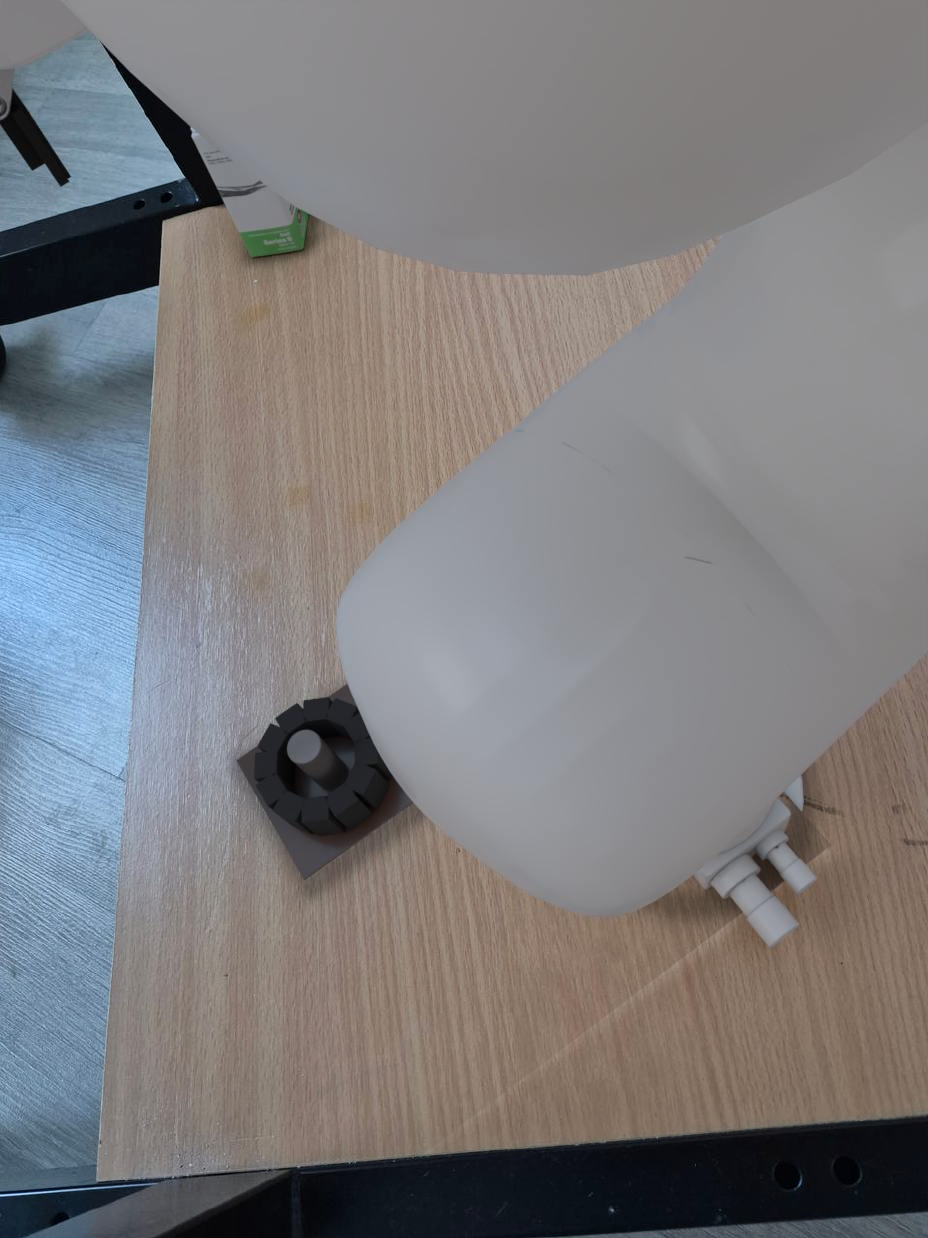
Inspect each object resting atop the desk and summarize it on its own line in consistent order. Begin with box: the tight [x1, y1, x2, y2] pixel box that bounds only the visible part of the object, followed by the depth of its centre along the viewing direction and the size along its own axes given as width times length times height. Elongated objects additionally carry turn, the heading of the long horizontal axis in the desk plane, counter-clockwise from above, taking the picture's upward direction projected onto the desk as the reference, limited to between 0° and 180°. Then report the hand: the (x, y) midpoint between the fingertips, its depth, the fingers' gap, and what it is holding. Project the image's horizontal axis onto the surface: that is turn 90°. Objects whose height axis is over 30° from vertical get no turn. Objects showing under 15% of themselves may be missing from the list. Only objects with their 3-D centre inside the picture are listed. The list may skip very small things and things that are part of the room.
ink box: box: [190, 126, 310, 258], centre depth 80 cm, size 9×5×12 cm, turn 178°
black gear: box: [254, 696, 392, 836], centre depth 59 cm, size 7×7×3 cm
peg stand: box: [236, 683, 414, 880], centre depth 59 cm, size 9×9×6 cm
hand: (141, 119), depth 50 cm, fingers open, 9 cm apart
